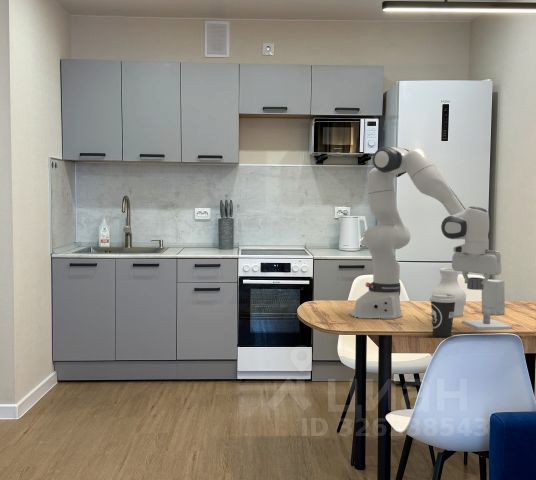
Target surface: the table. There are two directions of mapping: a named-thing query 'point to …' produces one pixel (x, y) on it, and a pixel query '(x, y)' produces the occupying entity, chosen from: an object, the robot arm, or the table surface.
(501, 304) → the skincare box
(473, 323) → the post
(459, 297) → the vase
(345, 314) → the table surface
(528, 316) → the table surface
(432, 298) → the coffee cup
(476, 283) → the ring
